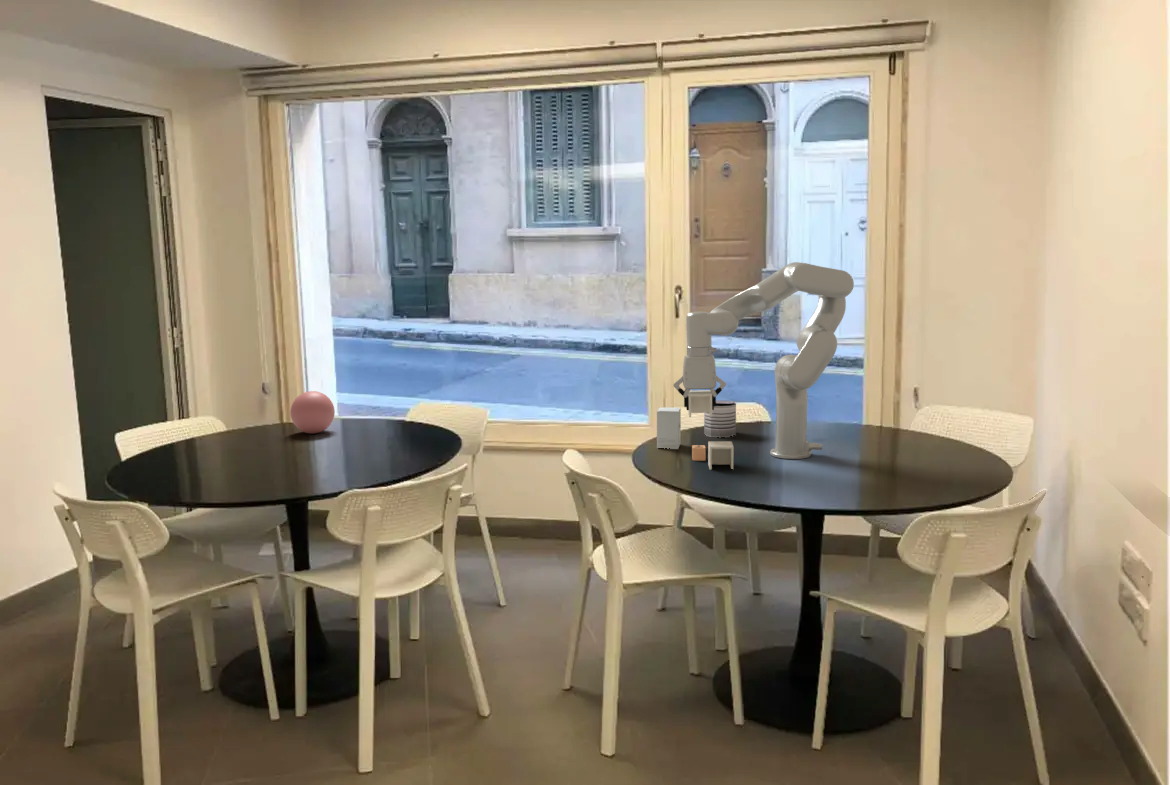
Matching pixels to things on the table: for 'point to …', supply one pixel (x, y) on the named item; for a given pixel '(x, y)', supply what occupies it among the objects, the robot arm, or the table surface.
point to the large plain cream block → (700, 402)
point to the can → (721, 420)
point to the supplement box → (669, 428)
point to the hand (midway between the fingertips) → (700, 408)
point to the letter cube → (698, 452)
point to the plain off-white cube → (720, 453)
